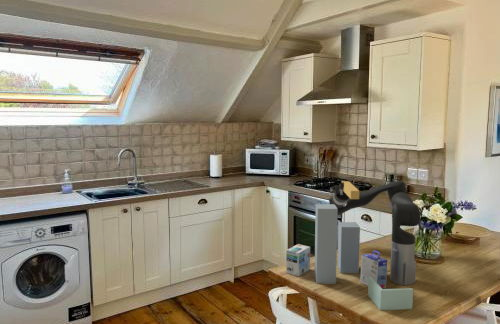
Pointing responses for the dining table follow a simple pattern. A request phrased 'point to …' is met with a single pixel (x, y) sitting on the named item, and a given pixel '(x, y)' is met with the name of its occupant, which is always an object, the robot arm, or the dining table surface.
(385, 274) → the ink cartridge box
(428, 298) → the dining table surface
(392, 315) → the dining table surface
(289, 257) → the light bulb box
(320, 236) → the tall post
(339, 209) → the robot arm
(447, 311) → the dining table surface
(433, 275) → the dining table surface
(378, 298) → the l-shaped corner panel
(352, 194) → the rail
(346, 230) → the low post
